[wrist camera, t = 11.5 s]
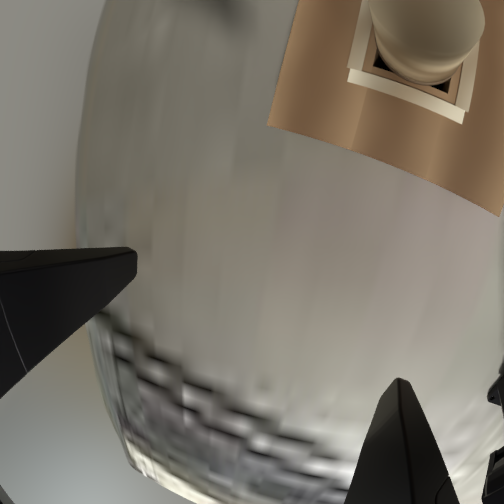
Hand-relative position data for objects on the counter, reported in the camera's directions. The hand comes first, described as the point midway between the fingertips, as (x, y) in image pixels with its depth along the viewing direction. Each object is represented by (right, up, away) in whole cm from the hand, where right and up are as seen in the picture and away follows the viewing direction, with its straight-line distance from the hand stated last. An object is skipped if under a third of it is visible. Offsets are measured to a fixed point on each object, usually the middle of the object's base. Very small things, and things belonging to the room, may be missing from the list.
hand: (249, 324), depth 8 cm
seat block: (+10, +14, +5) cm, 17 cm away
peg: (+10, +14, +5) cm, 17 cm away
